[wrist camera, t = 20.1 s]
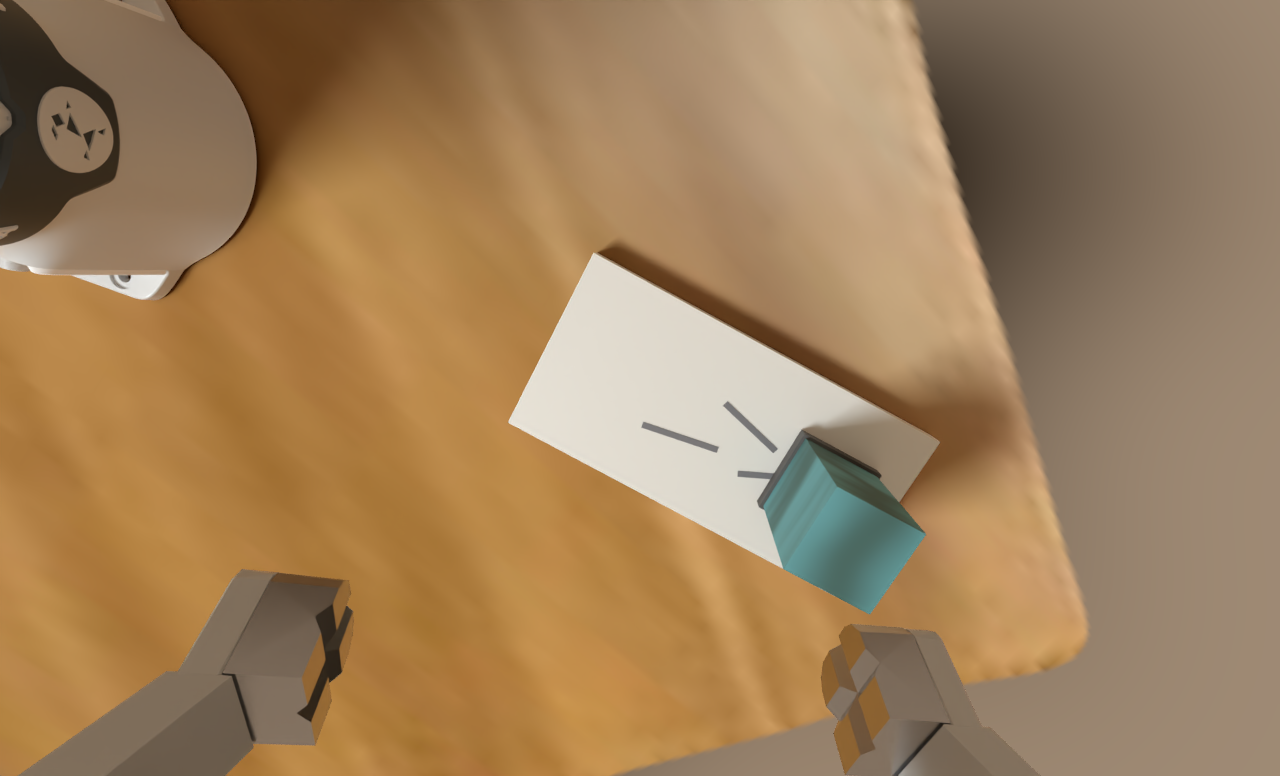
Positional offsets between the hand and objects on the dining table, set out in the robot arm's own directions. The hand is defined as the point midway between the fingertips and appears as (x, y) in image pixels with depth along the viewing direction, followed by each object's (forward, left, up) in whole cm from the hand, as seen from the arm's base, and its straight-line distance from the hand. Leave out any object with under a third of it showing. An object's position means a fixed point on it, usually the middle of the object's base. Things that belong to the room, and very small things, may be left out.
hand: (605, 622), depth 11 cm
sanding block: (+11, -7, -30) cm, 32 cm away
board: (+4, -5, -31) cm, 32 cm away
